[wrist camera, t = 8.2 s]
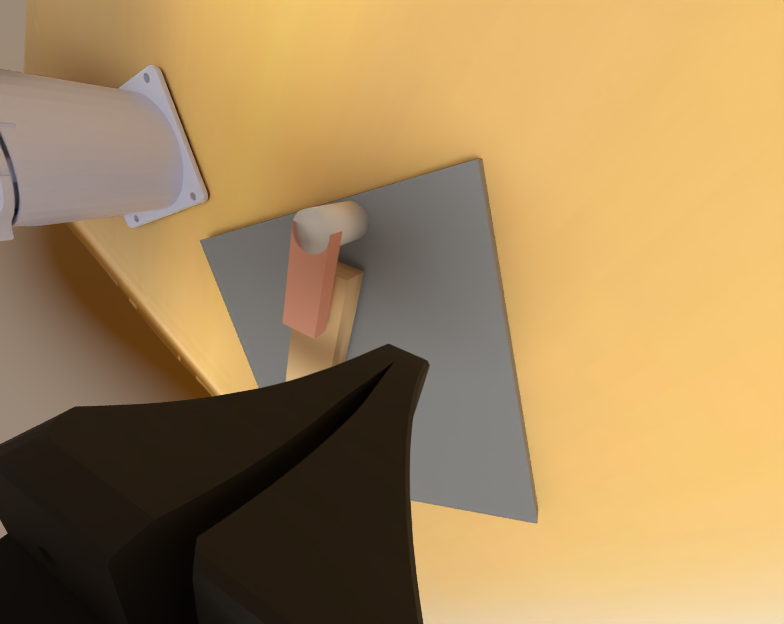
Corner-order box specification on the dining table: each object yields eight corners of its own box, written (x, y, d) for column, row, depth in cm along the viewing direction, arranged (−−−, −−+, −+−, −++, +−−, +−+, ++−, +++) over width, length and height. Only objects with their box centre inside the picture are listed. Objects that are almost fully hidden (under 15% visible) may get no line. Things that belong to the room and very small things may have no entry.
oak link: (335, 439, 25) (308, 472, 22) (290, 413, 26) (259, 441, 23) (372, 274, 19) (340, 293, 16) (310, 249, 20) (271, 263, 17)
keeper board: (302, 470, 30) (264, 515, 26) (212, 238, 24) (146, 252, 21) (538, 509, 21) (532, 585, 17) (482, 159, 16) (455, 157, 12)
